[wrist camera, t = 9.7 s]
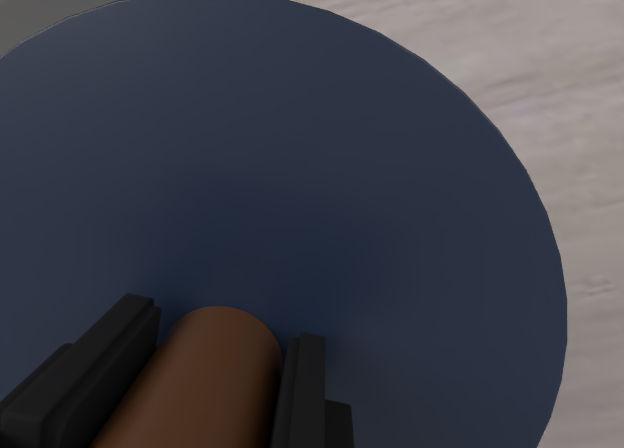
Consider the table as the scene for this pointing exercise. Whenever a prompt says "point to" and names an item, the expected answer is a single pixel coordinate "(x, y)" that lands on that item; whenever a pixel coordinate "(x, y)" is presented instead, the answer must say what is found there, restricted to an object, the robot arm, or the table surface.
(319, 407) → the robot arm
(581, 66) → the table surface
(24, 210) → the lid
